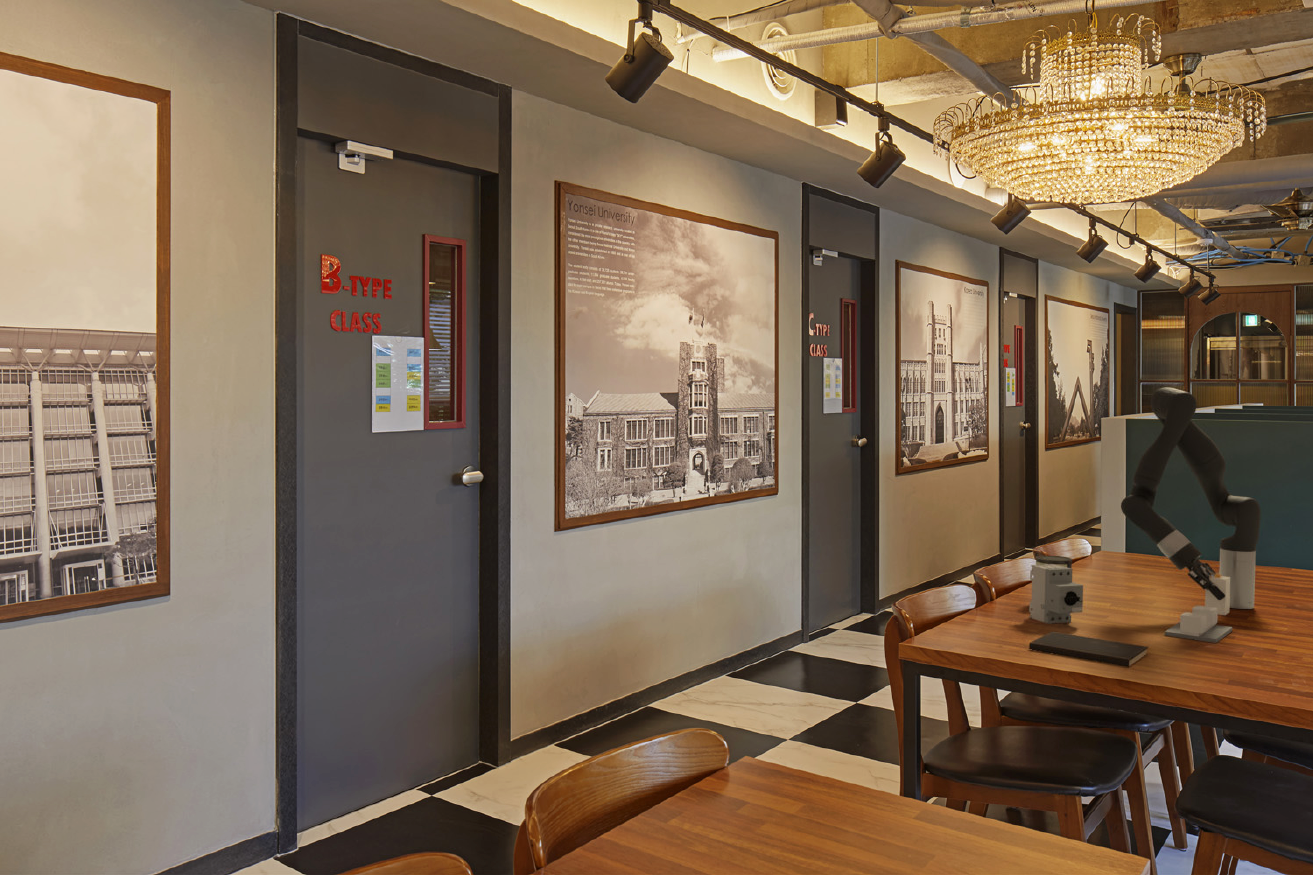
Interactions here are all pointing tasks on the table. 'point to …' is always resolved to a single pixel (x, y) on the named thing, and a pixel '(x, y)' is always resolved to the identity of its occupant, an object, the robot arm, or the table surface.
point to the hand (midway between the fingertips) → (1225, 596)
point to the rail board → (1205, 637)
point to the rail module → (1224, 586)
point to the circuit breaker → (1054, 594)
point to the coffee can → (1054, 561)
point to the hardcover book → (1089, 648)
